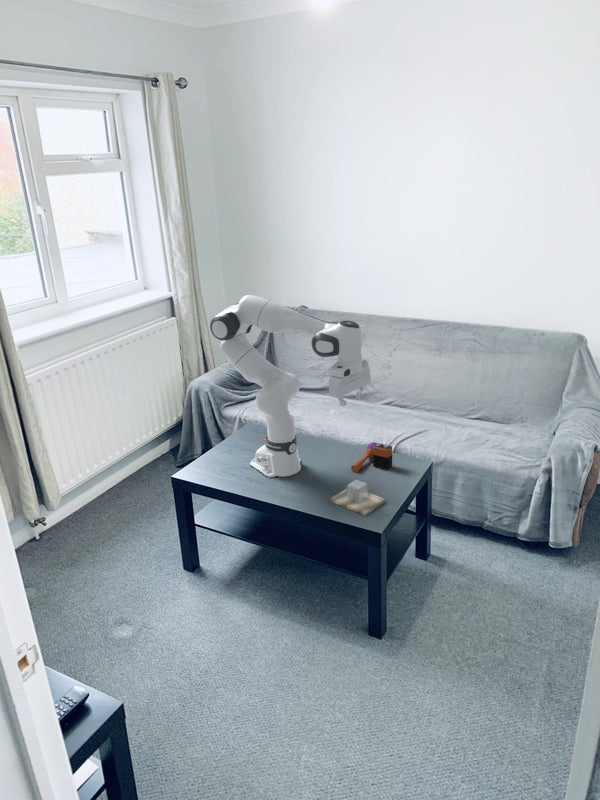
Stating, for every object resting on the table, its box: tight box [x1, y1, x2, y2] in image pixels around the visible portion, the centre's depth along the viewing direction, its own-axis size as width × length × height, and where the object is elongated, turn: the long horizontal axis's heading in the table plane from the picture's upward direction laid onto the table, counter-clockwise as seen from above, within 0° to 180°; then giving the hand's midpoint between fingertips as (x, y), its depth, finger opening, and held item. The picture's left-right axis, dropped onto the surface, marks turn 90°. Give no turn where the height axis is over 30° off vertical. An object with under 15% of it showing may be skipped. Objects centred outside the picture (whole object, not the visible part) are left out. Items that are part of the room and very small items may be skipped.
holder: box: [329, 487, 386, 516], centre depth 225 cm, size 16×12×6 cm
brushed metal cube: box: [346, 479, 369, 504], centre depth 225 cm, size 5×5×6 cm
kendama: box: [350, 441, 378, 473], centre depth 254 cm, size 6×6×20 cm
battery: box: [372, 442, 393, 471], centre depth 249 cm, size 4×7×10 cm, turn 57°
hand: (351, 401), depth 227 cm, fingers open, 8 cm apart
